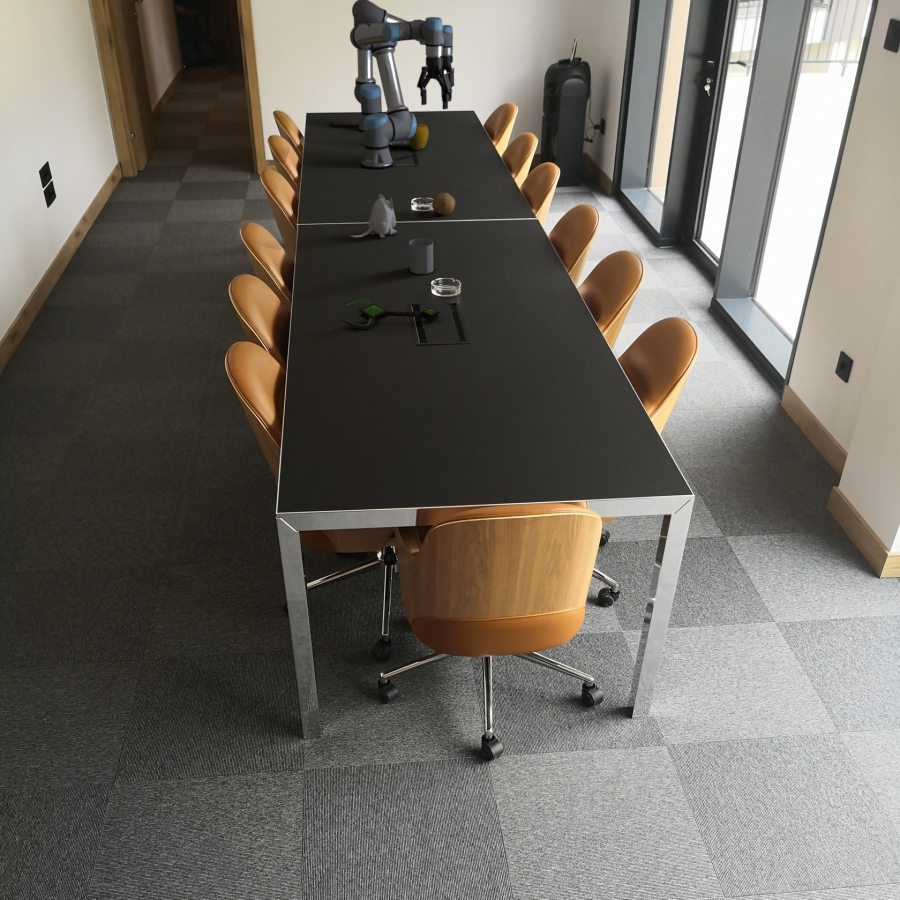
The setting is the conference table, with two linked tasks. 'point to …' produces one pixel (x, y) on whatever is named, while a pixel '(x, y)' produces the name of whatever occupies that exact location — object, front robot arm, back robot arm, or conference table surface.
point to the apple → (419, 137)
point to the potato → (443, 203)
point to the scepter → (386, 313)
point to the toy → (381, 218)
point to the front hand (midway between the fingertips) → (434, 106)
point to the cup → (421, 256)
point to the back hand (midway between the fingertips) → (446, 97)
